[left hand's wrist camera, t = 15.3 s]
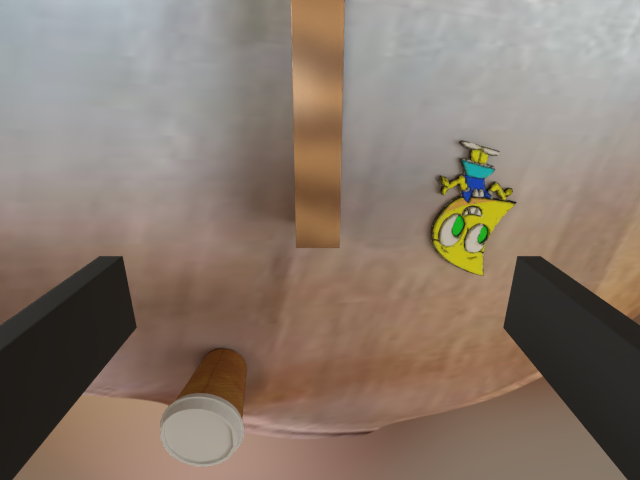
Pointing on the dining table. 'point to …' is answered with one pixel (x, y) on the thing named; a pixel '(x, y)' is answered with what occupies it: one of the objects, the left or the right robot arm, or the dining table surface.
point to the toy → (470, 212)
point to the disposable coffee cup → (208, 412)
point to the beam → (317, 119)
